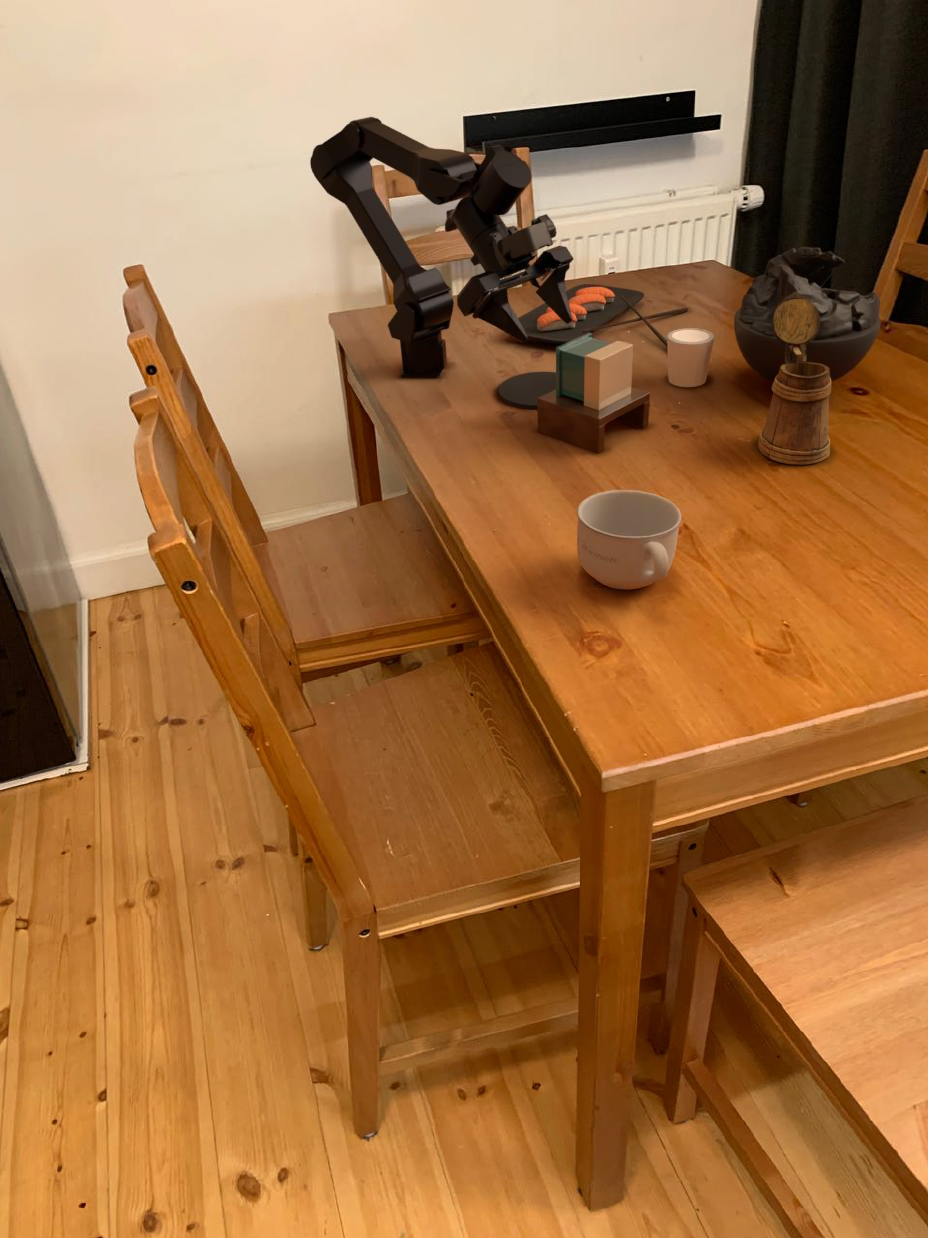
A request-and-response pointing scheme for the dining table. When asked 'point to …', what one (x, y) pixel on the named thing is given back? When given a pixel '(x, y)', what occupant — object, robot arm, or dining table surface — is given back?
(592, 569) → the teacup
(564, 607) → the dining table surface
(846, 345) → the coal bowl
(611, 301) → the sushi plate
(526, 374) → the mat
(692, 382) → the white cup
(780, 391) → the wooden mug
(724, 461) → the dining table surface
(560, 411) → the stand
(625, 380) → the teal rimmed box
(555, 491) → the dining table surface
